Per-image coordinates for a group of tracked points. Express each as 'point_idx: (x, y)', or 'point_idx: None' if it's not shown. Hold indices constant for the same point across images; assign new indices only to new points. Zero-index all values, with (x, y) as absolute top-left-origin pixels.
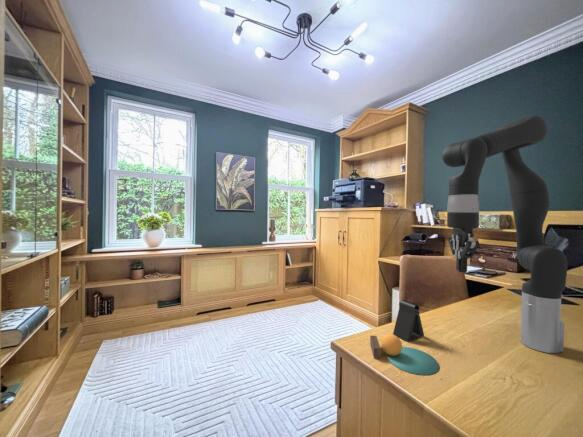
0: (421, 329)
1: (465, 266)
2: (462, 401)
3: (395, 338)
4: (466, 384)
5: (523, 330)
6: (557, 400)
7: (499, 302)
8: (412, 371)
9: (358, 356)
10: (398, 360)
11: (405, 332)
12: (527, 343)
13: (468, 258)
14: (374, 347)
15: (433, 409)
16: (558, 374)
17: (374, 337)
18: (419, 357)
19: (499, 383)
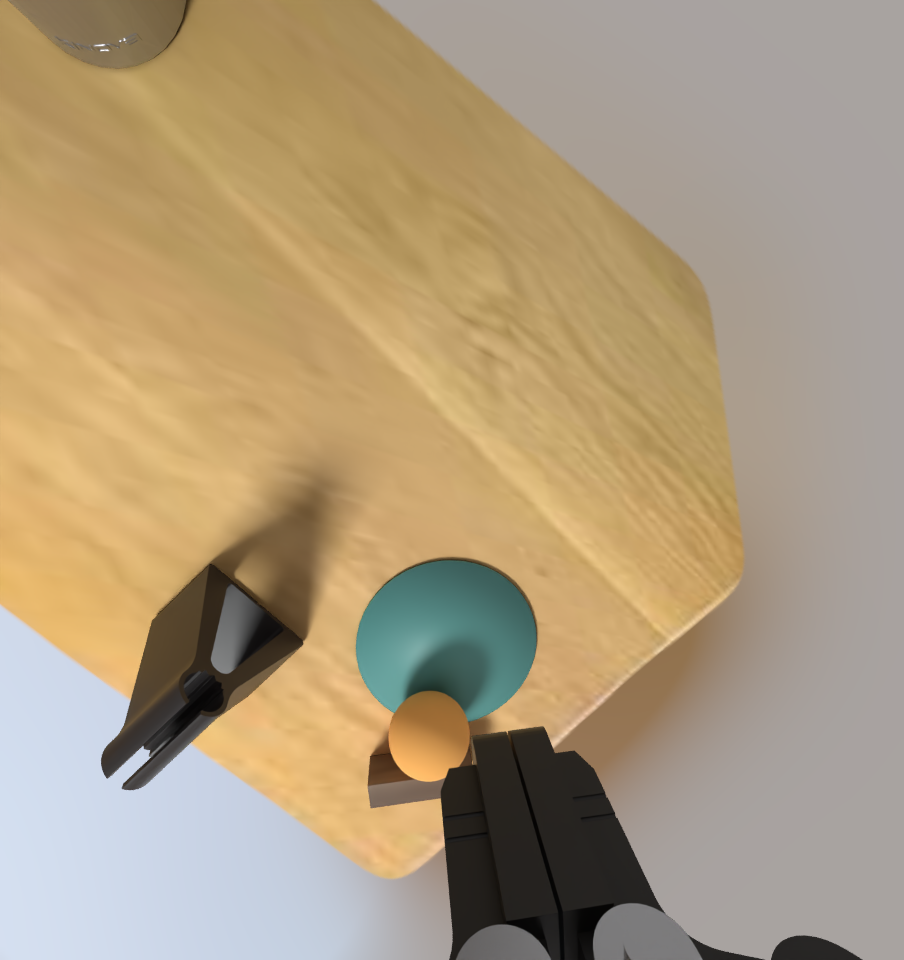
0: (213, 593)
1: (612, 821)
2: (640, 541)
3: (446, 747)
4: (554, 501)
5: (65, 15)
6: (578, 235)
7: None
8: (527, 654)
9: None
10: (469, 690)
11: (273, 667)
12: (134, 53)
13: (678, 930)
14: None
15: (685, 625)
16: (397, 97)
17: (385, 793)
18: (426, 618)
19: (523, 386)
